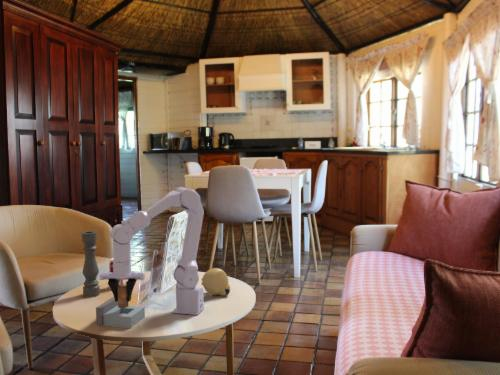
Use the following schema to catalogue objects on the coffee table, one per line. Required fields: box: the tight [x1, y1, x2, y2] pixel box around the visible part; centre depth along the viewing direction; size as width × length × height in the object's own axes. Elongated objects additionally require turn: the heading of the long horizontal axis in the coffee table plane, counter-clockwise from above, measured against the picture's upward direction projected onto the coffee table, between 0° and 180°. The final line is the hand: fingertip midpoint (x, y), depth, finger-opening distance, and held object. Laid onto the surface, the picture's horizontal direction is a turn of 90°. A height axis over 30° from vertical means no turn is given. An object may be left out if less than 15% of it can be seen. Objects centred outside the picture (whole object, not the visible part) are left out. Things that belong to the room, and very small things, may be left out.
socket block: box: [103, 305, 146, 329], centre depth 165 cm, size 10×10×4 cm
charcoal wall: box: [95, 296, 118, 327], centre depth 167 cm, size 2×12×6 cm, turn 167°
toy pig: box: [200, 267, 231, 297], centre depth 194 cm, size 10×12×11 cm
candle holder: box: [81, 230, 101, 298], centre depth 193 cm, size 6×6×25 cm
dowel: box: [117, 283, 130, 308], centre depth 164 cm, size 4×4×7 cm
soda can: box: [108, 257, 124, 285], centre depth 203 cm, size 5×5×12 cm
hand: (123, 300), depth 164 cm, fingers closed on dowel, 3 cm apart
